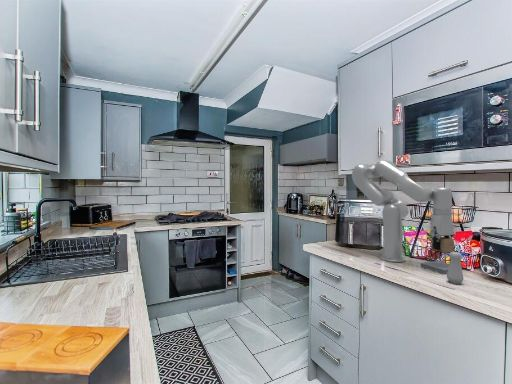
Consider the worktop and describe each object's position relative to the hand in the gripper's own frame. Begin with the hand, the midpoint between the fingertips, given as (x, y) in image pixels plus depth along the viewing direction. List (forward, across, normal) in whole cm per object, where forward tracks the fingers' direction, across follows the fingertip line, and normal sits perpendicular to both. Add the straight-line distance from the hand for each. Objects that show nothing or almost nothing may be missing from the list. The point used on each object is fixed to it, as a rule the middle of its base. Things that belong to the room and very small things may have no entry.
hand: (442, 248), depth 132 cm
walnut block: (+1, 0, 0) cm, 1 cm away
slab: (+10, 0, 0) cm, 10 cm away
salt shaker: (+11, +12, +15) cm, 22 cm away
